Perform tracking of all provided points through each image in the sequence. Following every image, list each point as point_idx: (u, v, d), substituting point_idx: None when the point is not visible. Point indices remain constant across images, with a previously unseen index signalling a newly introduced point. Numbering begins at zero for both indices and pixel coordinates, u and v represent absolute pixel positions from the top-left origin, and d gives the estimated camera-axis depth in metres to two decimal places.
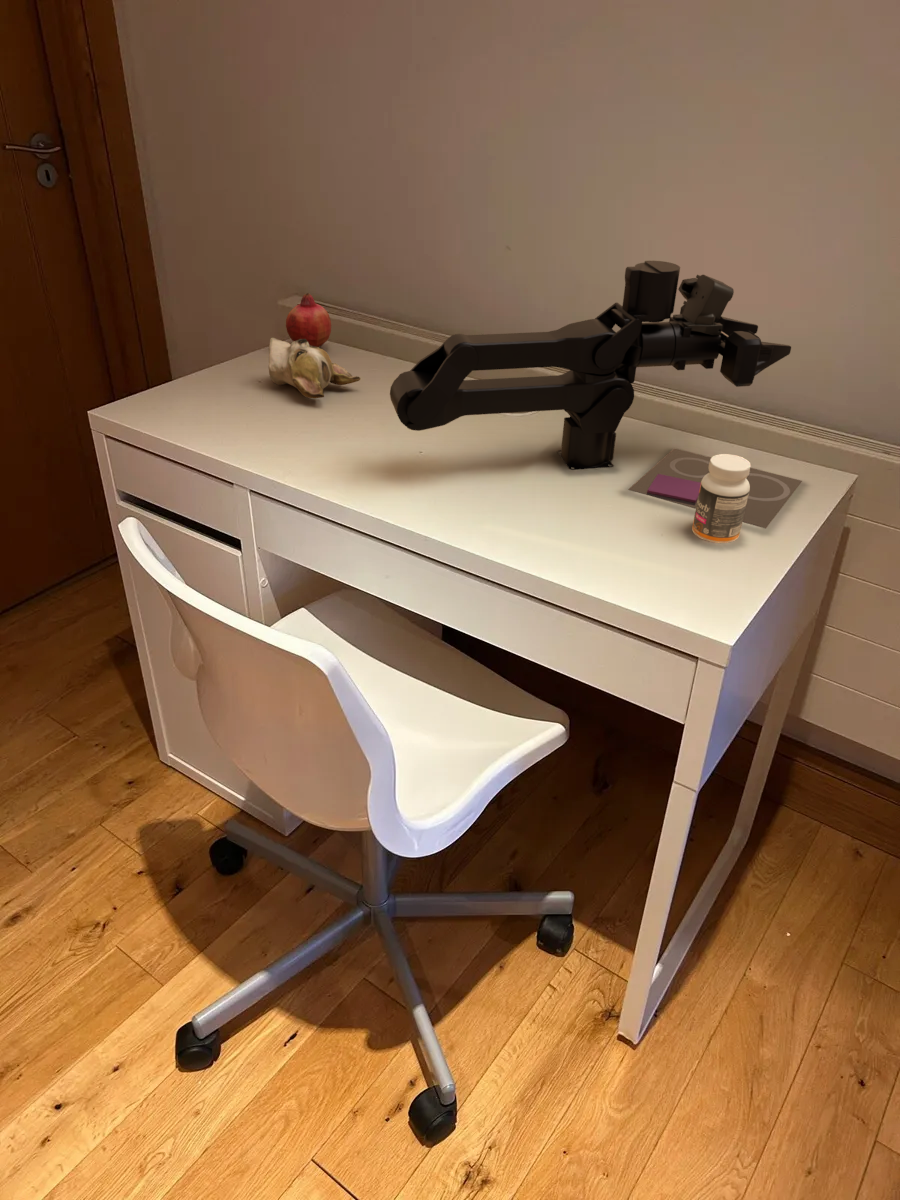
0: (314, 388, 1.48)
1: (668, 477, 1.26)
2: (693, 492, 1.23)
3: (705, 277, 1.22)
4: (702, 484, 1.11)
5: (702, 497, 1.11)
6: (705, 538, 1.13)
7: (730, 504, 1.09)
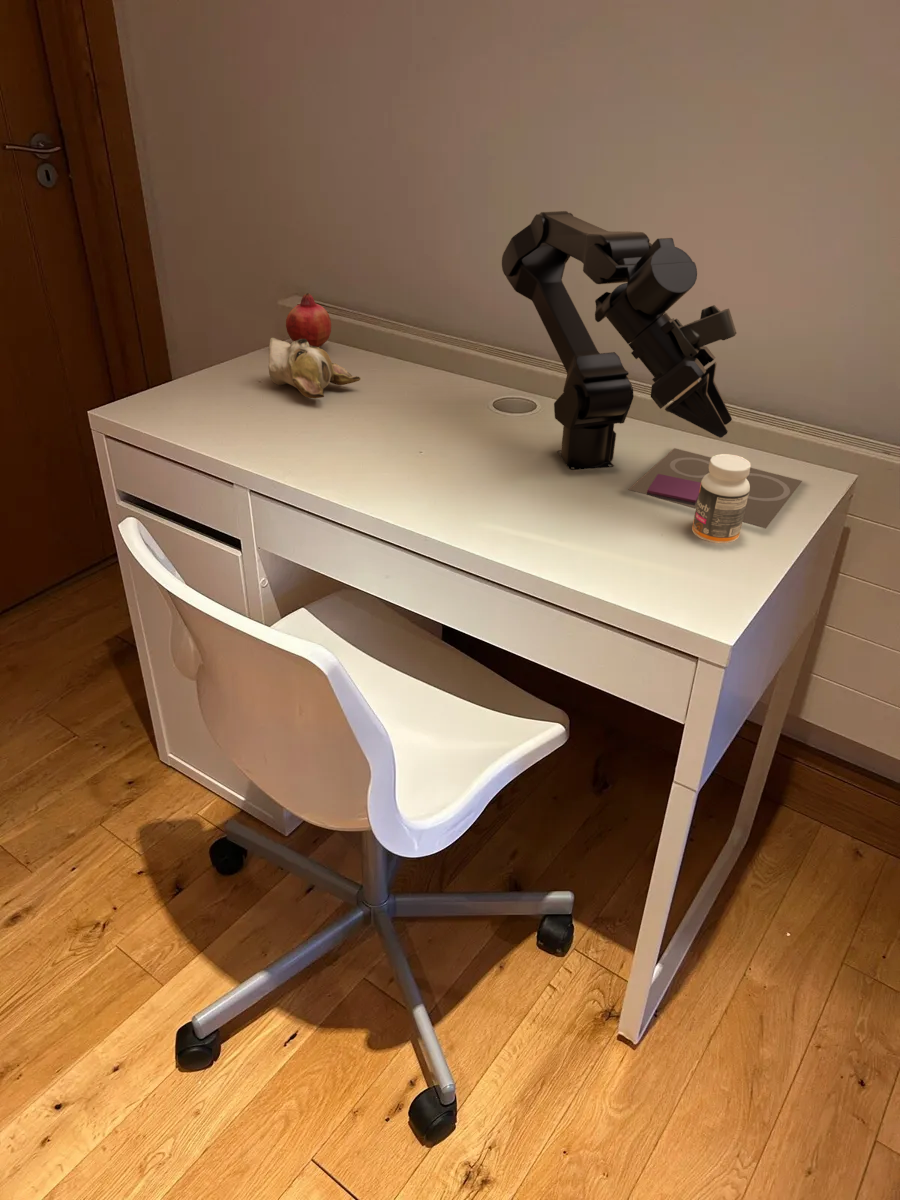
0: (314, 388, 1.48)
1: (668, 477, 1.26)
2: (693, 492, 1.23)
3: (727, 309, 1.11)
4: (702, 484, 1.11)
5: (702, 497, 1.11)
6: (705, 538, 1.13)
7: (730, 504, 1.09)
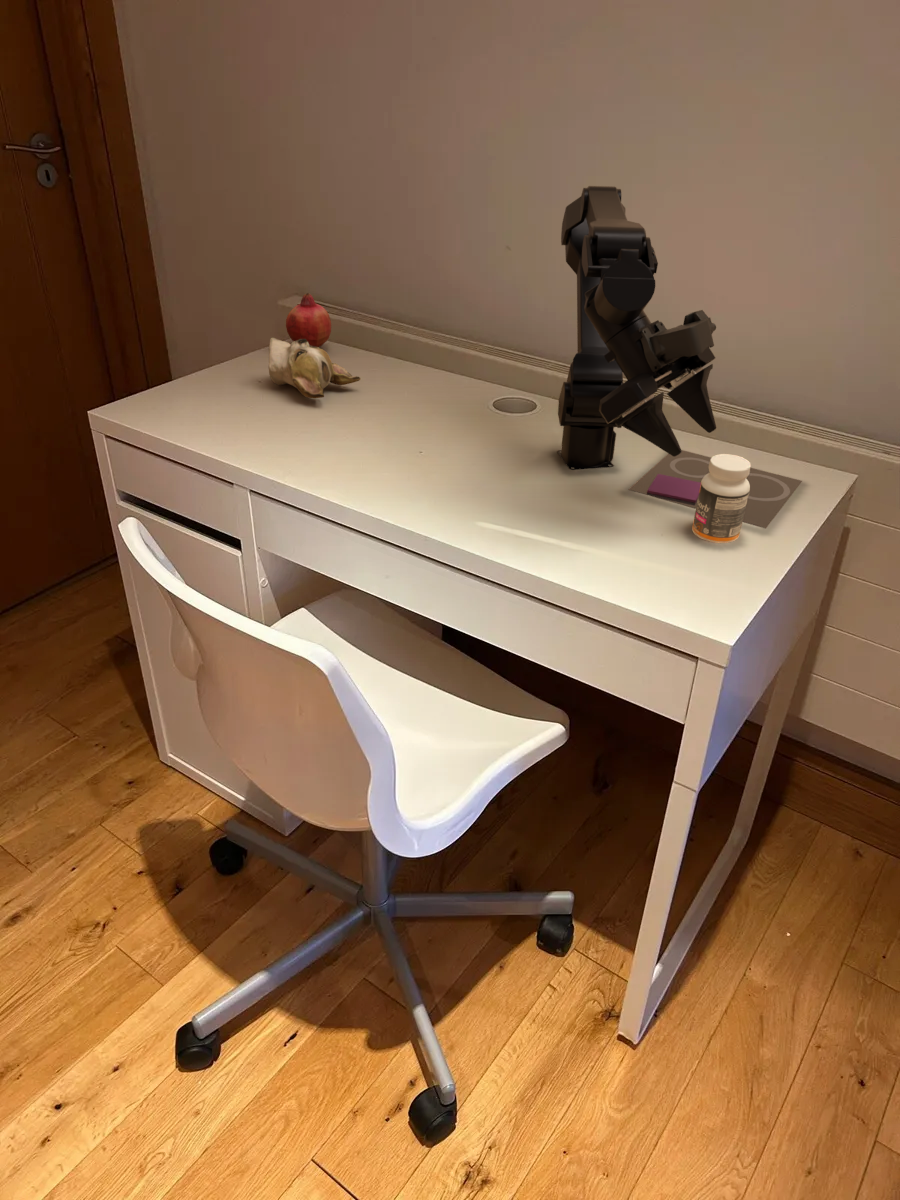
0: (314, 388, 1.48)
1: (668, 477, 1.26)
2: (693, 492, 1.23)
3: (702, 321, 1.05)
4: (702, 484, 1.11)
5: (702, 497, 1.11)
6: (705, 538, 1.13)
7: (730, 504, 1.09)
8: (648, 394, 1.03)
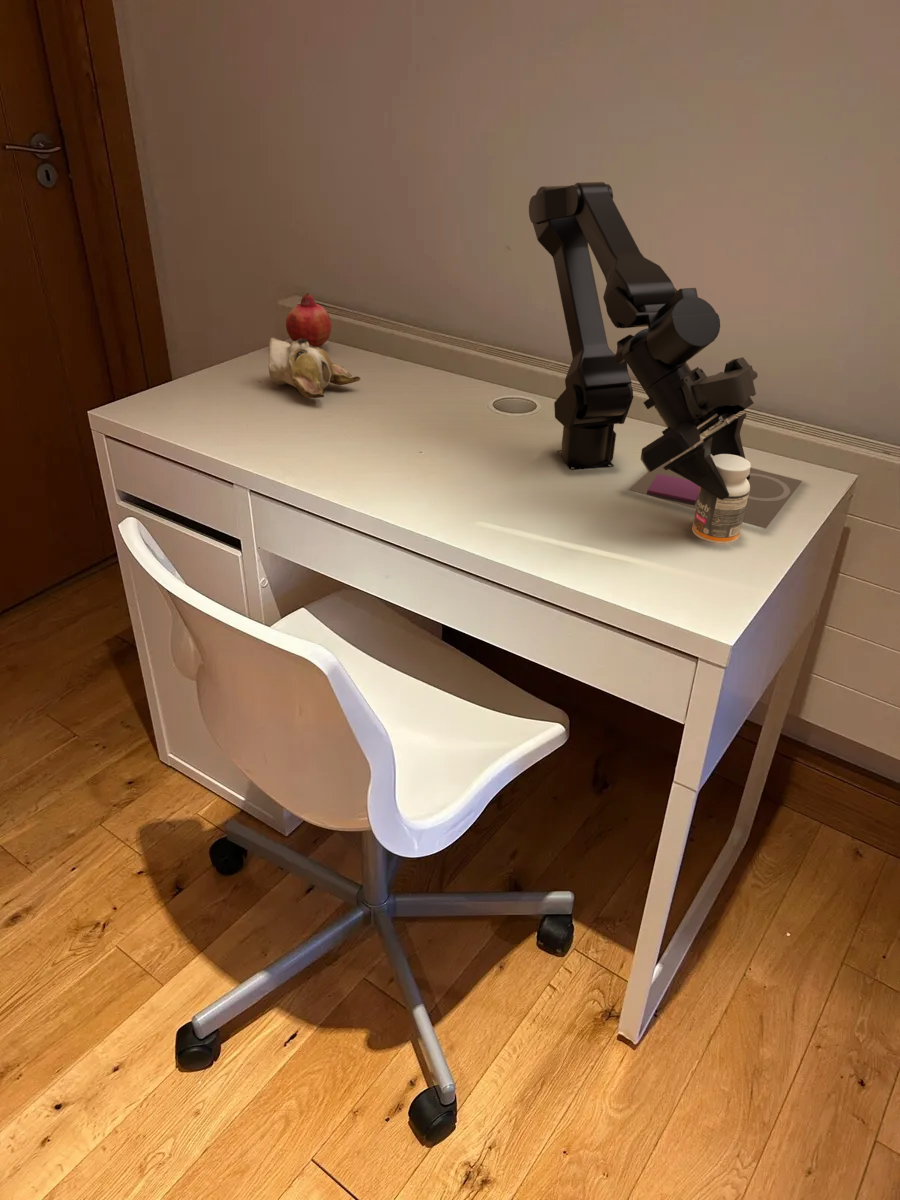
0: (314, 388, 1.48)
1: (668, 477, 1.26)
2: (693, 492, 1.23)
3: (745, 370, 1.05)
4: None
5: (702, 497, 1.11)
6: (705, 538, 1.13)
7: (730, 504, 1.10)
8: (692, 444, 1.03)
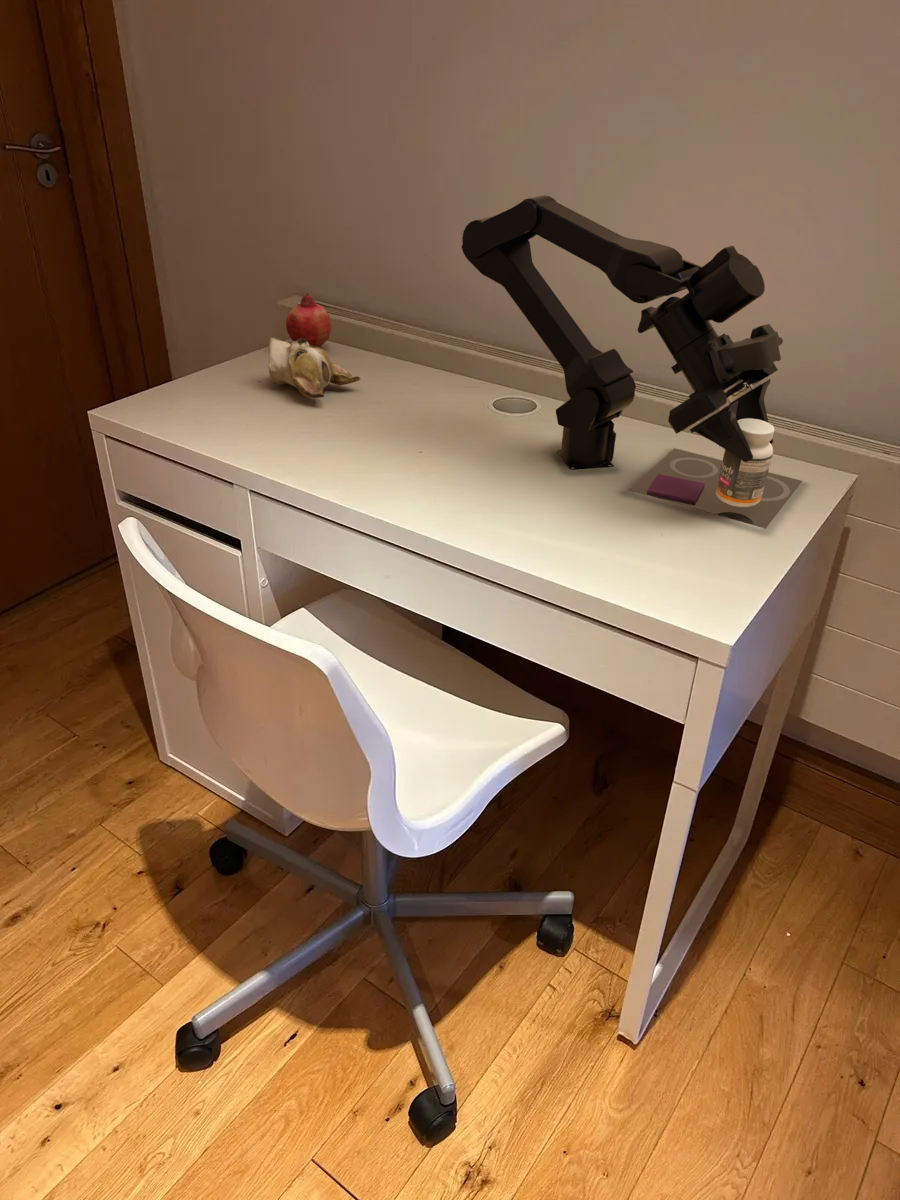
0: (314, 388, 1.48)
1: (668, 477, 1.26)
2: (693, 492, 1.23)
3: (771, 335, 1.08)
4: None
5: (726, 460, 1.15)
6: (728, 500, 1.17)
7: (754, 466, 1.13)
8: (718, 406, 1.06)
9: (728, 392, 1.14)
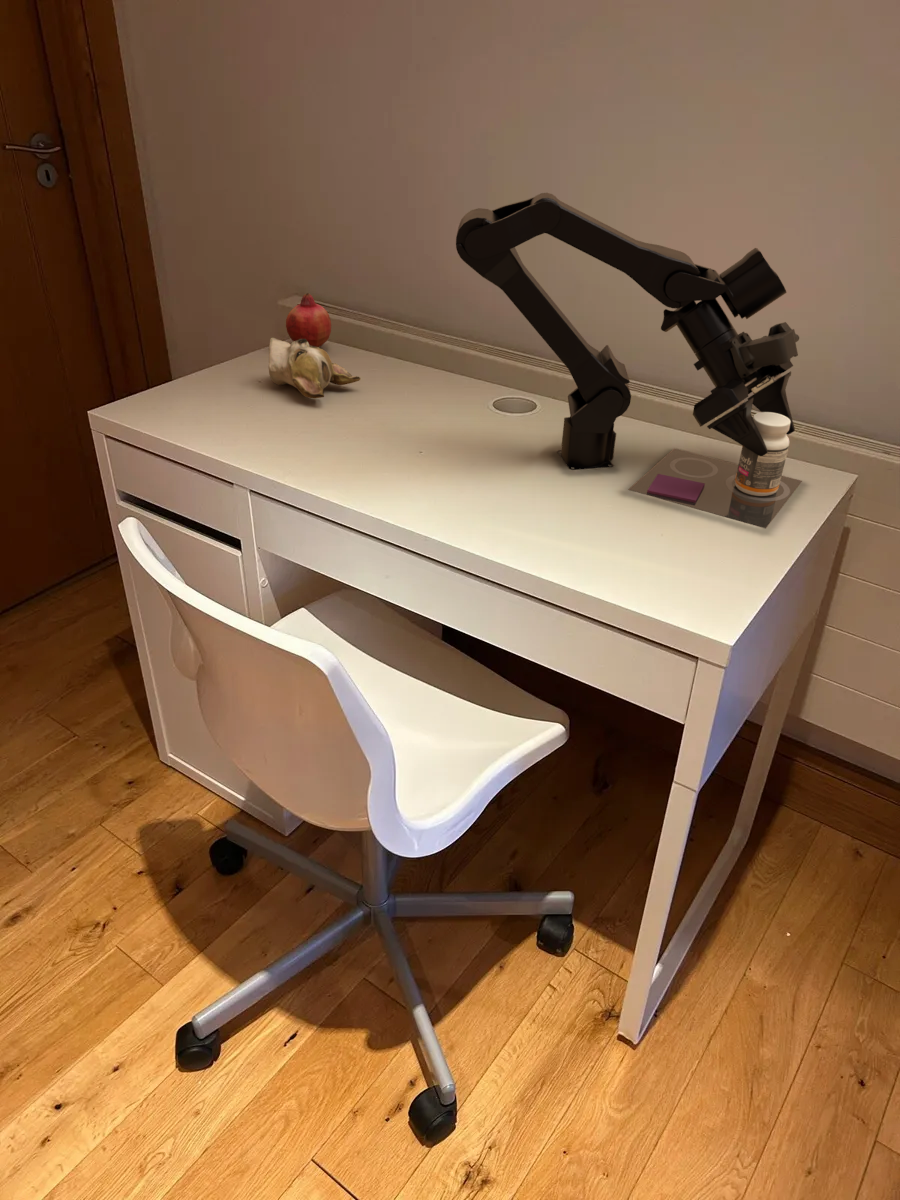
0: (314, 388, 1.48)
1: (668, 477, 1.26)
2: (693, 492, 1.23)
3: (788, 332, 1.15)
4: None
5: (744, 452, 1.21)
6: (747, 489, 1.23)
7: (771, 457, 1.19)
8: (741, 399, 1.13)
9: (748, 387, 1.21)
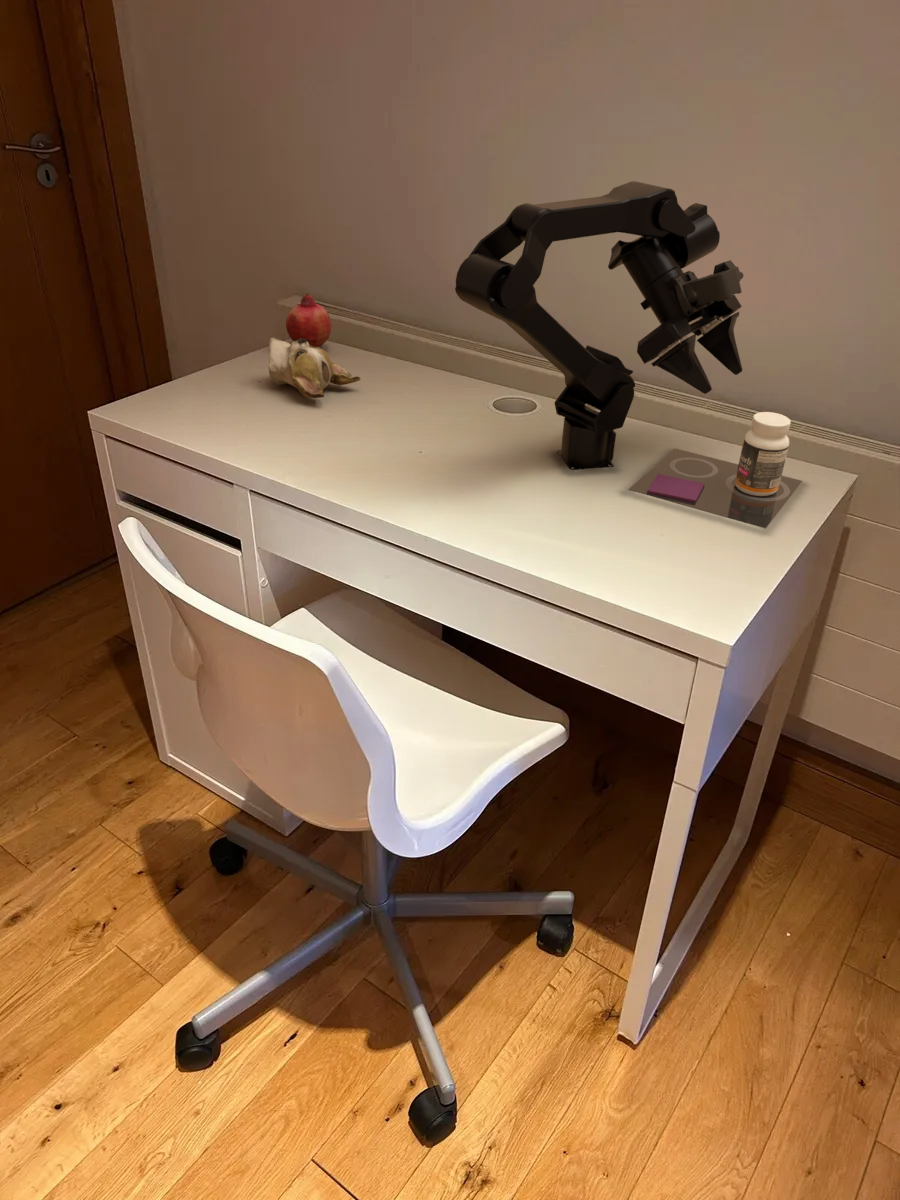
0: (314, 388, 1.48)
1: (668, 477, 1.26)
2: (693, 492, 1.23)
3: (731, 269, 1.16)
4: (745, 439, 1.21)
5: (744, 452, 1.21)
6: (747, 489, 1.23)
7: (771, 457, 1.19)
8: (682, 335, 1.14)
9: (694, 326, 1.22)
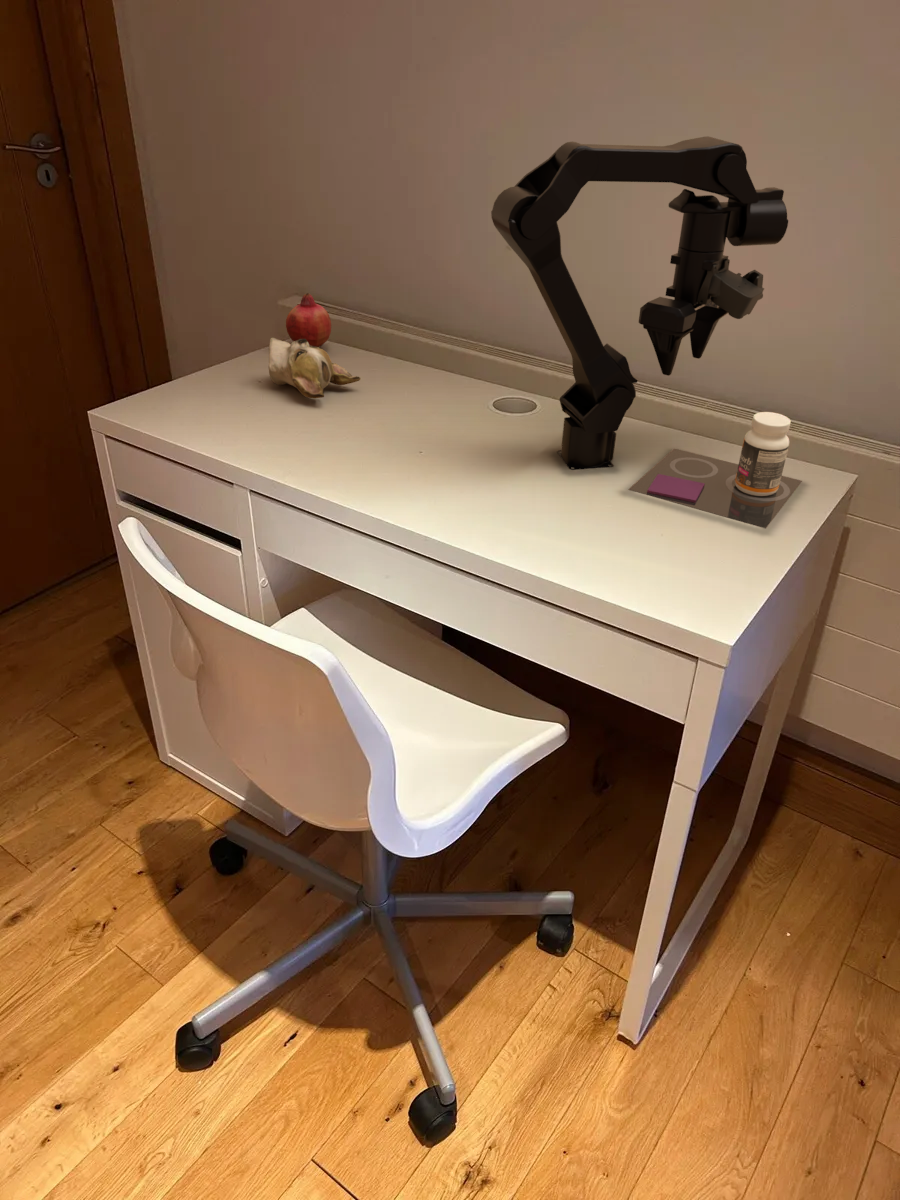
0: (314, 388, 1.48)
1: (668, 477, 1.26)
2: (693, 492, 1.23)
3: (758, 293, 1.18)
4: (745, 439, 1.21)
5: (744, 452, 1.21)
6: (747, 489, 1.23)
7: (771, 457, 1.19)
8: (684, 329, 1.17)
9: None
